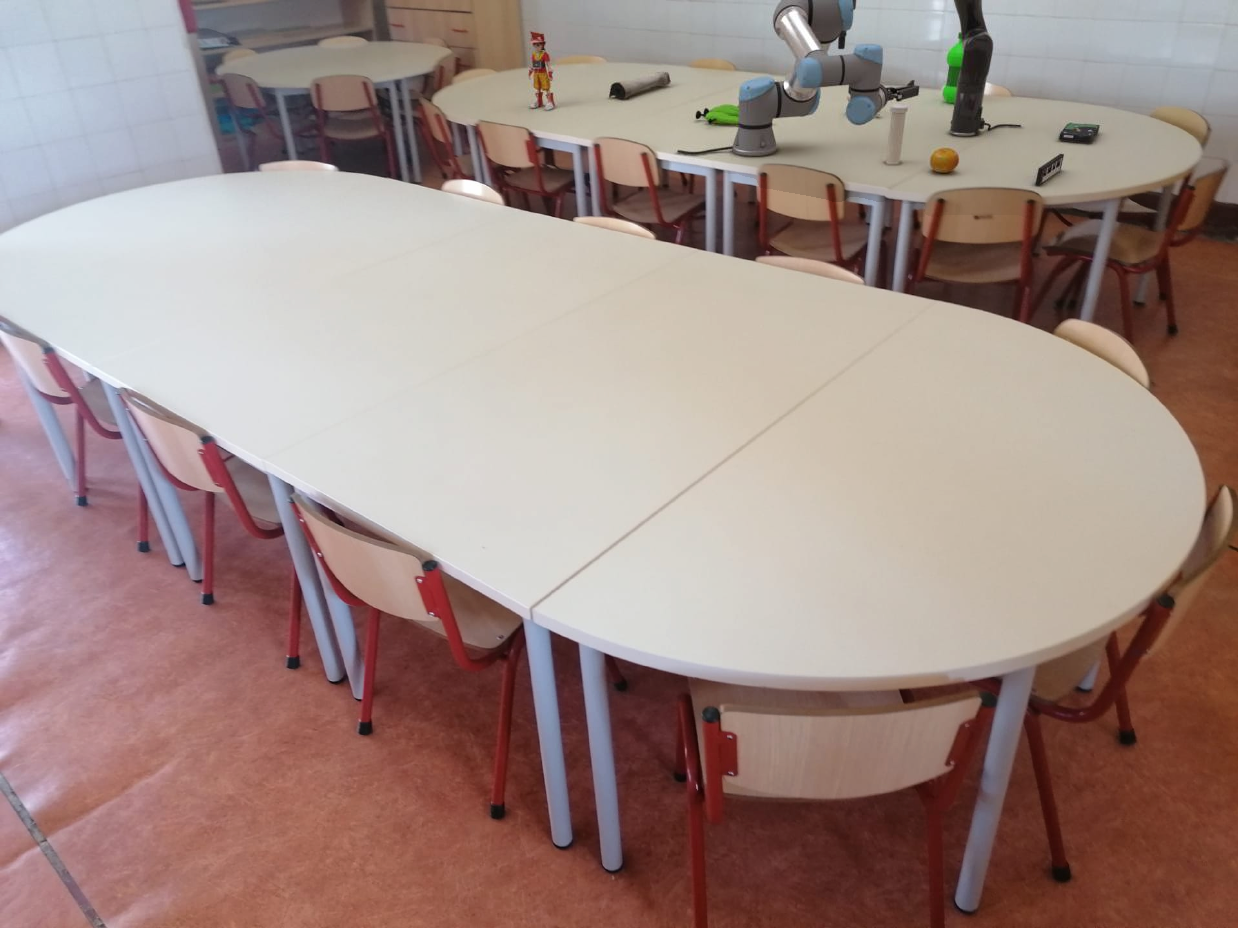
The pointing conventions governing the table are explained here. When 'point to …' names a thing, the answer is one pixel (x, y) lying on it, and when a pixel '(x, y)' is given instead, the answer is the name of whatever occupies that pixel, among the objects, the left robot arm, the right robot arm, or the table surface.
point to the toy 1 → (541, 71)
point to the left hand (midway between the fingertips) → (889, 84)
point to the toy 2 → (721, 114)
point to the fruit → (944, 160)
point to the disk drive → (1079, 132)
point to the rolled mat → (638, 84)
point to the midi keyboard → (1049, 169)
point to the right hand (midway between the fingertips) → (841, 46)
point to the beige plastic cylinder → (895, 138)
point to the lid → (899, 108)
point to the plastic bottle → (953, 70)
